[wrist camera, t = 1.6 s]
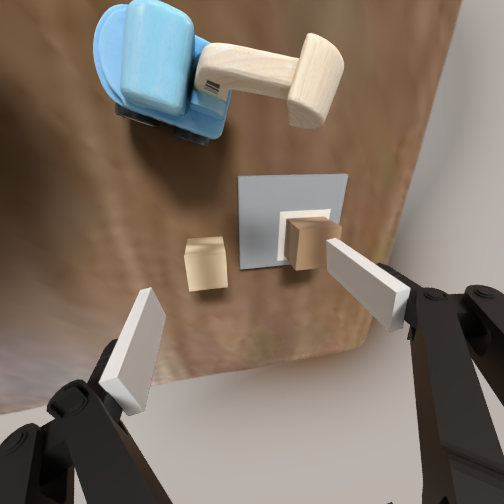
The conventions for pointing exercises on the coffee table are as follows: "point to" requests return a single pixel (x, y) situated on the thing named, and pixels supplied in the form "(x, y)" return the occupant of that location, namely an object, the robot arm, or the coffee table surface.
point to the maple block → (206, 263)
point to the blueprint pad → (281, 211)
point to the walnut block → (309, 241)
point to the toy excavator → (203, 72)
